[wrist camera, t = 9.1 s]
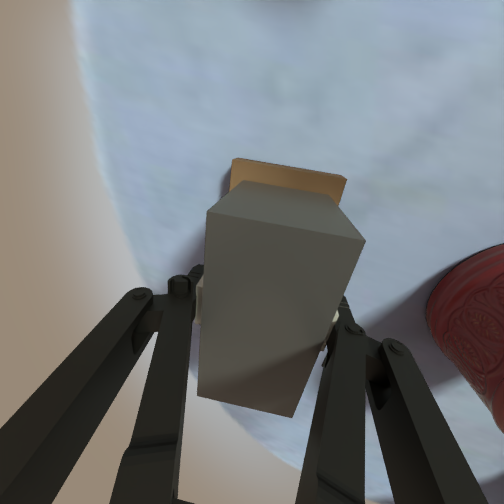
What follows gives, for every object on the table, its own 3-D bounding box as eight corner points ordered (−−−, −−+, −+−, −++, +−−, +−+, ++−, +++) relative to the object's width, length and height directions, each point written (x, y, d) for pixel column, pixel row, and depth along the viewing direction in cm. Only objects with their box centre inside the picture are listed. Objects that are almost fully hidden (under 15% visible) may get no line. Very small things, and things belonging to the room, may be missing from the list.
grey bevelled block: (289, 323, 21) (292, 418, 14) (227, 310, 21) (196, 395, 14) (328, 194, 15) (365, 240, 8) (242, 179, 16) (206, 211, 8)
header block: (297, 313, 23) (300, 370, 18) (222, 298, 24) (202, 348, 18) (340, 175, 17) (368, 192, 11) (237, 157, 17) (213, 166, 12)
